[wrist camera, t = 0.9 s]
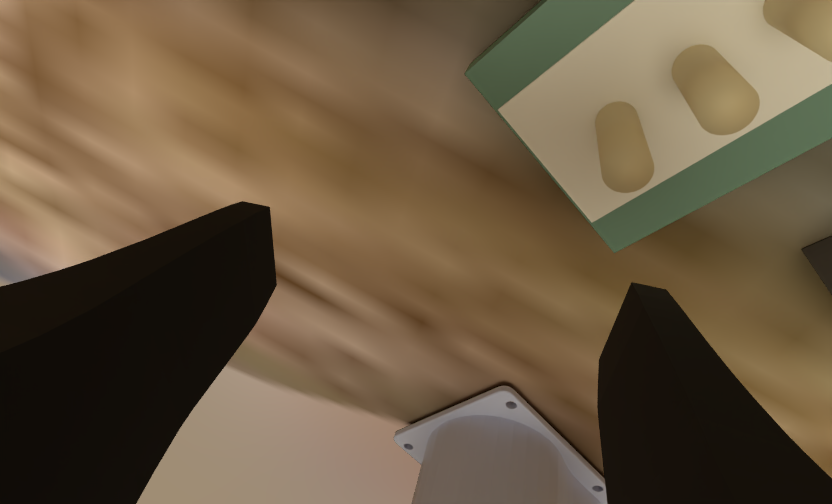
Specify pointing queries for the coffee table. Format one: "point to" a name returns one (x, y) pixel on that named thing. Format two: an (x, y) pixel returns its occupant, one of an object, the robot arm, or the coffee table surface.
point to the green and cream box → (661, 99)
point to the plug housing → (821, 260)
